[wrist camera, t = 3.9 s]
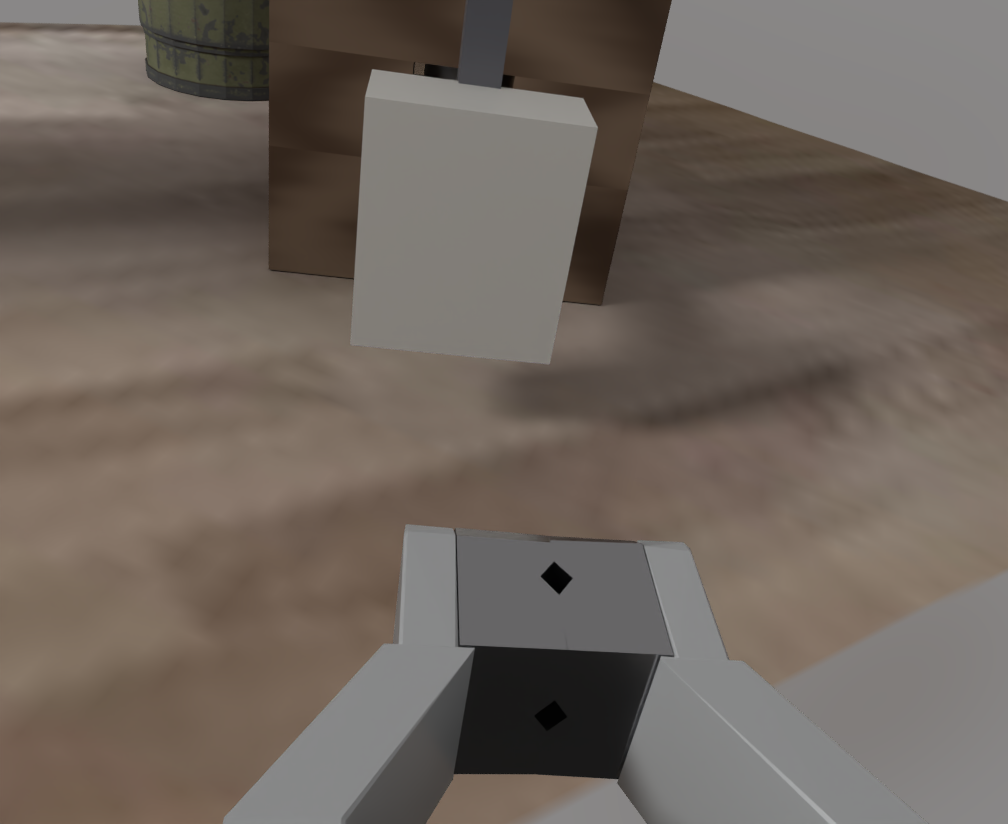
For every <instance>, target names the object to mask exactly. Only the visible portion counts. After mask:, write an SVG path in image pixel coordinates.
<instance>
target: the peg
mask: <svg viewBox="0 0 1008 824" xmlns="http://www.w3.org/2000/svg"><path fill="white" fill-rule="evenodd" d="M512 6H513V0H466V4H465V13H464V21H463V30H462V39H461V48H460V57H459V65H458V68H454V67H447V66H439V65H432V64H425V70H424V76H419V75H411V74H404V73H397V72H390V71H382V70H375V69H372V72H371V76H370V80H369V83H368V87H367V91H366V95H365V105H364V122H363V139H362V155H361V172H360V189H359V206H358V222H357V239H356V256H355V272H354V289H353V306H352V323H351V339H350V345H354V346H364V347H374V348H385V349H395V350H405V351H416V352H426V353H436V354H446V355H457V356H467V357H477V358H487V359H498V360H508V361H518V362H529V363H539V364H549V365H550V360H551V355H552V350H553V346H554V341H555V336H556V331H557V326H558V321H559V316H560V311H561V306H562V301H563V296H564V292H565V287H566V282H567V277H568V272H569V267H570V262H571V257H572V252H573V247H574V242H575V238H576V233H577V228H578V223H579V218H580V213H581V208H582V203H583V198H584V193H585V189H586V184H587V179H588V174H589V169H590V164H591V159H592V154H593V149H594V144H595V139H596V135H597V130H598V127H597V125H596V123H595V121H594V119H593V117H592V115H591V113H590V111H589V109H588V107H587V105H586V103H585V101H584V99H583V98H578V97H571V96H564V95H556V94H549V93H542V92H535V91H527V90H520V89H513V88H506V87H501V84H502V77H503V70H504V63H505V56H506V49H507V42H508V35H509V28H510V21H511V13H512Z"/></svg>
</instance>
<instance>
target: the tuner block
mask: <svg viewBox="0 0 1008 824" xmlns="http://www.w3.org/2000/svg"><path fill="white" fill-rule="evenodd" d="M671 1H672V0H513V6H512V13H511V21H510V28H509V35H508V42H507V49H506V56H505V63H504V70H503V77H502V84H501V87H506V88H513V89H520V90H527V91H535V92H542V93H549V94H556V95H564V96H571V97H578V98H583V99H584V101H585V103H586V105H587V107H588V109H589V111H590V113H591V115H592V117H593V119H594V121H595V123H596V125H597V127H598V130H597V135H596V139H595V144H594V149H593V154H592V159H591V164H590V169H589V174H588V179H587V184H586V189H585V193H584V198H583V203H582V208H581V213H580V218H579V223H578V228H577V233H576V238H575V242H574V247H573V252H572V257H571V262H570V267H569V272H568V277H567V282H566V287H565V292H564V296H563V301H568V302H578V303H587V304H596V305H601V304H602V300H603V296H604V291H605V287H606V283H607V278H608V274H609V270H610V265H611V261H612V257H613V252H614V248H615V244H616V239H617V235H618V231H619V226H620V222H621V218H622V213H623V209H624V205H625V200H626V196H627V192H628V187H629V183H630V179H631V174H632V170H633V166H634V161H635V157H636V153H637V148H638V144H639V140H640V135H641V131H642V127H643V123H644V118H645V114H646V110H647V105H648V101H649V97H650V92H651V88H652V84H653V79H654V75H655V71H656V66H657V62H658V57H659V53H660V49H661V45H662V40H663V35H664V32H665V27H666V23H667V19H668V14H669V10H670V5H671ZM465 4H466V0H269V269H270V270H279V271H288V272H298V273H307V274H316V275H326V276H335V277H344V278H354V272H355V256H356V239H357V222H358V206H359V189H360V172H361V155H362V139H363V122H364V105H365V95H366V91H367V87H368V83H369V80H370V76H371V72H372V69H375V70H382V71H390V72H397V73H404V74H411V75H418V74H414V67H415V62H418V63H425V64H432V65H439V66H447V67H454V68H458V65H459V57H460V48H461V39H462V30H463V21H464V13H465ZM419 76H424V75H419Z"/></svg>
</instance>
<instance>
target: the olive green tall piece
mask: <svg viewBox="0 0 1008 824" xmlns="http://www.w3.org/2000/svg"><path fill="white" fill-rule="evenodd" d="M138 6H139V18H140V23H141V26H143V29H144V33H145V39H146V53H147V58H145V60H146V71H147V75H148V77H149V78H150V79H152V80H153V81H154V82H156V83H157V84H159V85H162V86H165V87H167V88H170V89H173V90H175V91H179V92H184V93H188V94H192V95H197V96H203V97H210V98H218V99H226V100H250V101H254V100H269V0H138Z"/></svg>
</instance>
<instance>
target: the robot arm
mask: <svg viewBox="0 0 1008 824" xmlns="http://www.w3.org/2000/svg"><path fill="white" fill-rule="evenodd" d="M454 774H538V775H556V776H573V777H590V778H607V779H619V780H618V785H619V786H620V788H621V789H622V790H623V792H624V793H625V794H626V796H627V797H628V798H629V800H630V801H631V803H632V804H633V805H634V807H635V808H636V809H637V811H638V812H639V813H640V815H641V816H642V817H643V819H644V820H645V821H646V823H647V824H929V823H927V822H926V821H925V820H924V819H923V818H922V817H921V816H919V815H918V814H917V813H916V812H915V811H914V810H913V809H911V808H910V807H909V806H908V805H907V804H906V803H905V802H903V801H902V800H901V799H900V798H899V797H898V796H896V795H895V794H894V793H893V792H892V791H891V790H890V789H888V787H886V786H885V785H884V784H883V783H882V782H881V781H879V780H878V779H877V778H876V777H875V776H874V775H873V774H872V773H870V772H869V771H868V770H867V769H866V768H865V767H863V766H862V765H861V764H860V763H859V762H858V761H857V760H856V759H854V758H853V757H852V756H851V755H850V754H849V753H848V752H847V751H845V750H844V749H843V748H842V747H841V746H840V745H839V744H837V743H836V742H835V741H834V740H833V739H832V738H831V737H829V736H828V735H827V734H826V733H825V732H824V731H822V730H821V729H820V728H819V727H818V726H817V725H816V724H815V723H813V722H812V721H811V720H810V719H809V718H808V717H806V716H805V715H804V714H803V713H802V712H801V711H800V710H799V709H797V708H796V707H795V706H794V705H793V704H792V703H790V701H788V700H787V699H786V698H785V697H784V696H782V695H781V694H780V693H779V692H778V691H777V690H776V689H775V688H774V687H772V686H771V685H770V684H769V683H768V682H767V681H766V680H764V679H763V678H762V677H761V676H760V675H759V674H758V673H756V672H755V671H754V670H753V669H752V668H751V667H750V666H749V665H747V664H746V663H745V662H744V661H735V660H729V657H728V655H727V652H726V649H725V646H724V643H723V640H722V638H721V635H720V632H719V629H718V626H717V623H716V621H715V618H714V615H713V612H712V609H711V606H710V604H709V601H708V598H707V595H706V592H705V589H704V587H703V584H702V581H701V578H700V575H699V573H698V570H697V567H696V564H695V561H694V558H693V556H692V553H691V550H690V548H689V547H688V546H687V545H686V544H685V543H684V542H665V541H643V540H638V541H637V542H635V541H626V540H609V539H592V538H575V537H557V536H543V535H532V534H520V533H509V532H498V531H486V530H475V529H463V528H455V530H454V531H453V529H452V528H443V527H431V526H419V525H408V524H406V527H405V531H404V538H403V548H402V557H401V567H400V577H399V586H398V596H397V605H396V616H395V626H394V637H393V644H383V645H382V646H381V647H380V648H379V649H378V651H377V652H376V653H375V654H374V655H373V656H372V657H371V658H370V659H369V660H368V661H367V662H366V664H365V665H364V666H363V667H362V668H361V669H360V670H359V671H358V672H357V673H356V674H355V676H354V677H353V678H352V679H351V680H350V681H349V682H348V683H347V684H346V685H345V686H344V688H343V689H342V690H341V691H340V692H339V693H338V694H337V695H336V696H335V697H334V698H333V700H332V701H331V702H330V703H329V704H328V705H327V706H326V707H325V708H324V709H323V710H322V712H321V713H320V714H319V715H318V716H317V717H316V718H315V719H314V720H313V721H312V722H311V723H310V725H309V726H308V727H307V728H306V729H305V730H304V731H303V732H302V733H301V734H300V735H299V737H298V738H297V739H296V740H295V741H294V742H293V743H292V744H291V745H290V746H289V747H288V749H287V750H286V751H285V752H284V753H283V754H282V755H281V756H280V757H279V758H278V759H277V761H276V762H275V763H274V764H273V765H272V766H271V767H270V768H269V769H268V770H267V771H266V772H265V774H264V775H263V776H262V777H261V778H260V779H259V780H258V781H257V782H256V783H255V784H254V786H253V787H252V788H251V789H250V790H249V791H248V792H247V793H246V794H245V795H244V796H243V798H242V799H241V800H240V801H239V802H238V803H237V804H236V805H235V806H234V807H233V808H232V810H231V811H230V812H229V813H228V814H227V815H226V816H225V817H224V821H223V824H426V822H427V820H428V819H429V817H430V816H431V814H432V812H433V811H434V809H435V807H436V806H437V804H438V803H439V801H440V799H441V798H442V796H443V794H444V793H445V791H446V790H447V788H448V786H449V785H450V783H451V781H452V780H453V775H454Z"/></svg>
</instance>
